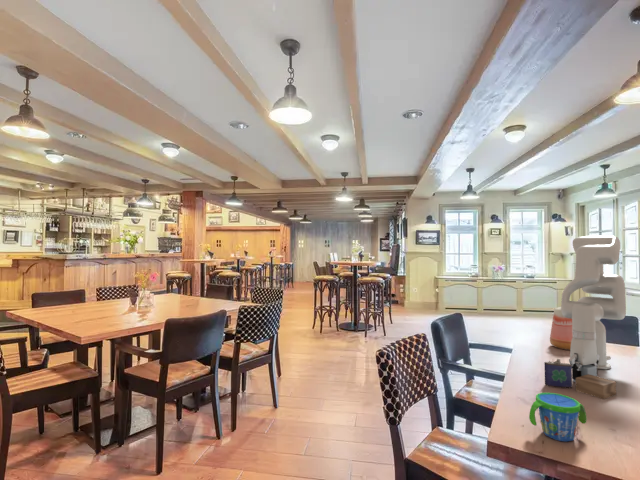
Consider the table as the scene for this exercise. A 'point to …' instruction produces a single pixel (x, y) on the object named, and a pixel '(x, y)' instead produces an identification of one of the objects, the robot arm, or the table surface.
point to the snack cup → (558, 415)
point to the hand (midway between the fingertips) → (584, 378)
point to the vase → (561, 330)
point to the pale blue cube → (587, 370)
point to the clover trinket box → (558, 374)
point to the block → (596, 386)
